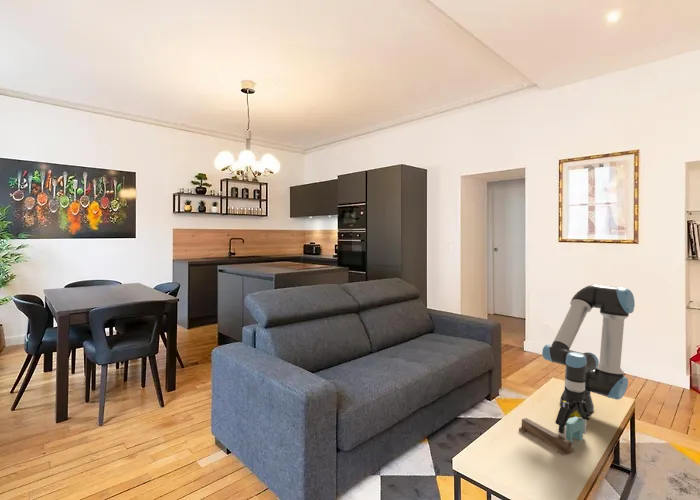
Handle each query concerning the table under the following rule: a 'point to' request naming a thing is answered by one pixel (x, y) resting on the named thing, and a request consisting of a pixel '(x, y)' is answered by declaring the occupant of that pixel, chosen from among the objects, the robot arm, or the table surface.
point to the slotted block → (574, 429)
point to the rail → (547, 436)
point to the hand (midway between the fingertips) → (572, 436)
